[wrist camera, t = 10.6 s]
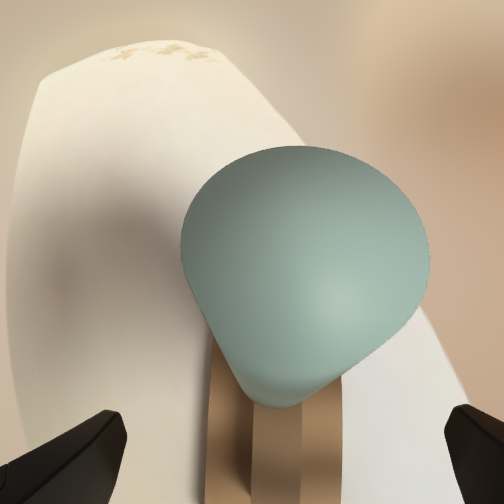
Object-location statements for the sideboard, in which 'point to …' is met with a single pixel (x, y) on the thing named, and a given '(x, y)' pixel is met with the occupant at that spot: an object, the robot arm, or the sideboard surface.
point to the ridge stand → (271, 445)
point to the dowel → (302, 267)
